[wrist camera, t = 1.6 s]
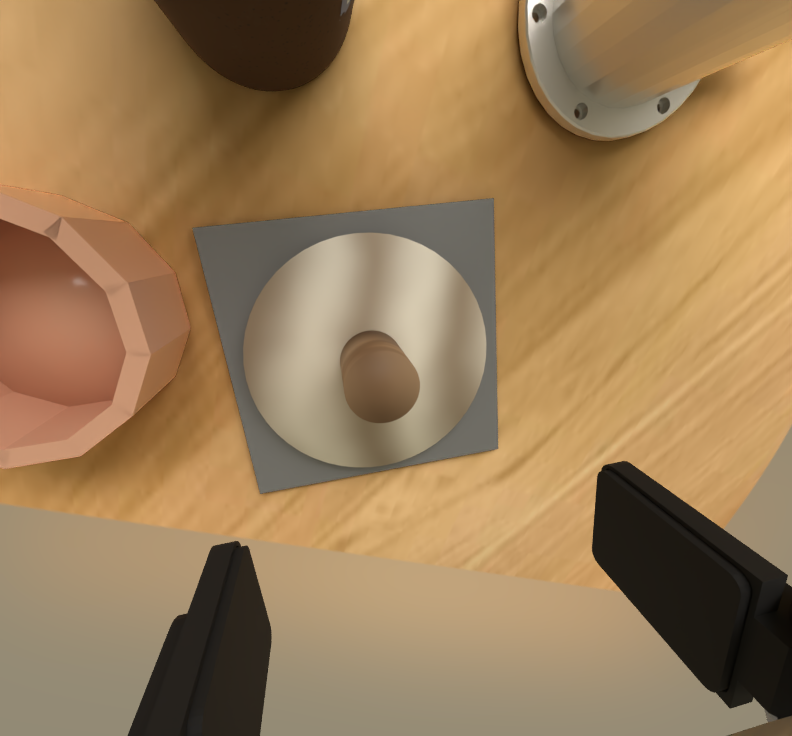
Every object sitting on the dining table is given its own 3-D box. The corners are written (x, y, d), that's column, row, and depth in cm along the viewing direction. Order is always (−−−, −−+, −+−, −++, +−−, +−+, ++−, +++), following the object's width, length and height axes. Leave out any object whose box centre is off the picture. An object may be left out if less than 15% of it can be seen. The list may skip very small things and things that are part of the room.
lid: (475, 220, 25) (522, 214, 19) (483, 437, 30) (522, 485, 24) (219, 247, 23) (183, 250, 17) (274, 476, 28) (261, 539, 22)
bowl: (151, 187, 22) (91, 168, 16) (210, 396, 26) (178, 440, 20) (-112, 209, 20) (-283, 197, 14) (-5, 429, 24) (-104, 487, 18)
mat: (490, 198, 25) (493, 198, 24) (495, 445, 31) (498, 448, 30) (194, 228, 23) (192, 227, 22) (261, 489, 28) (260, 493, 28)
